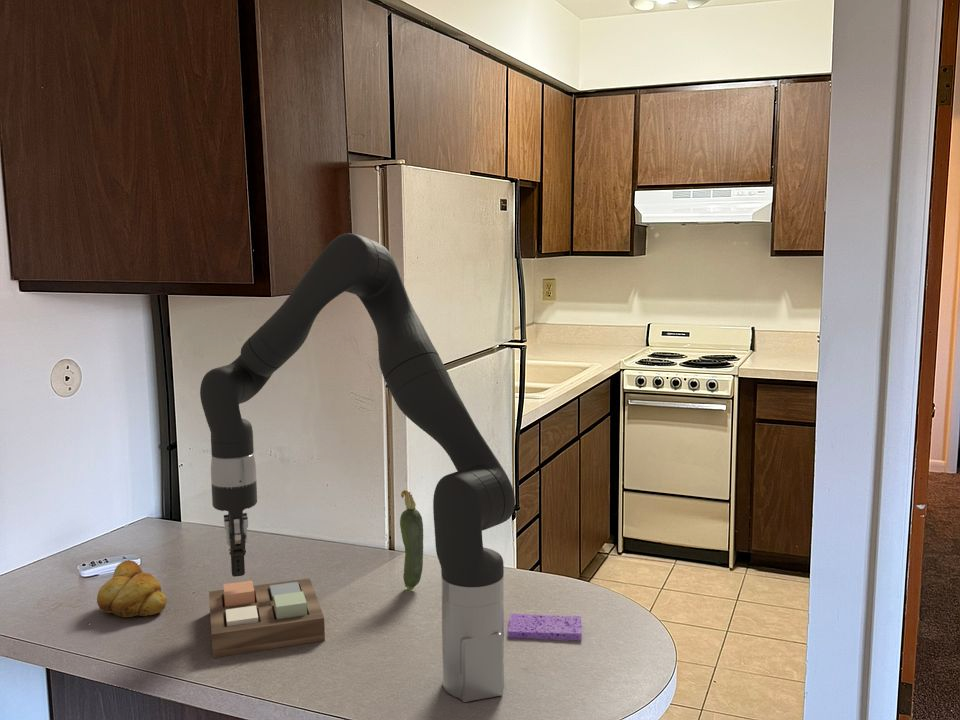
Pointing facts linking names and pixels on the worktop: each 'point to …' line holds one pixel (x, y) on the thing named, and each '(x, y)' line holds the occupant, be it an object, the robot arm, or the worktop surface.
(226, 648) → the keypad
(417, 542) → the vegetable
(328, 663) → the worktop surface
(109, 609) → the bread roll
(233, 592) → the key terracotta
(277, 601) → the key sage
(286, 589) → the key slate
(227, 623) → the key cream
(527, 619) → the sponges
